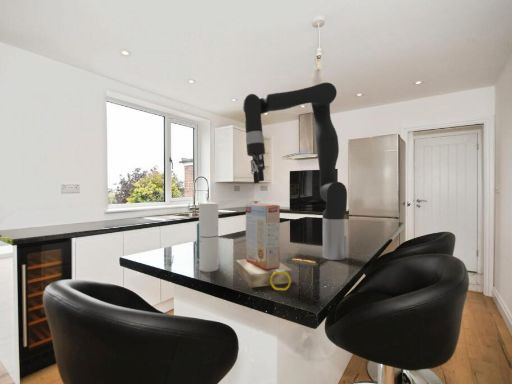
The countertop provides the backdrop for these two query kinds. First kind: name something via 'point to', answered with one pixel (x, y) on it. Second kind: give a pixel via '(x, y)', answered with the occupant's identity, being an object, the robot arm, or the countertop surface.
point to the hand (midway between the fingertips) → (258, 182)
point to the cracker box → (263, 235)
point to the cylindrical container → (208, 237)
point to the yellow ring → (280, 271)
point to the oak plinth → (261, 274)
